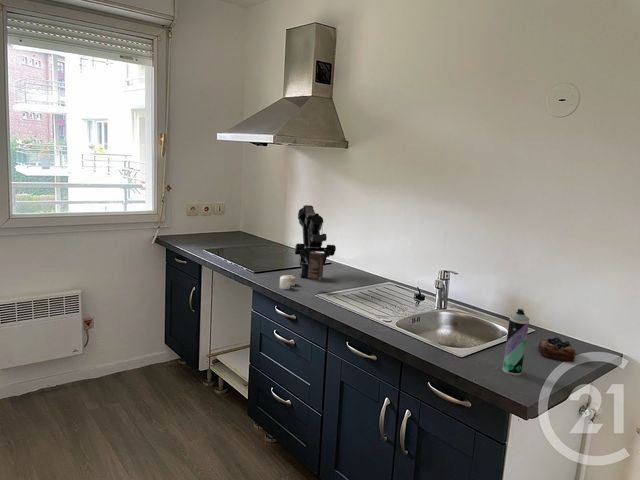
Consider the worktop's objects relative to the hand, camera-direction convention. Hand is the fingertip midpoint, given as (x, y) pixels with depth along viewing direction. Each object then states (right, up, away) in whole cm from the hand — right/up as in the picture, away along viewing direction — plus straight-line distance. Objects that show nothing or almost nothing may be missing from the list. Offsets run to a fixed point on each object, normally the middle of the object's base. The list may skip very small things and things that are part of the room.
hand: (316, 265), depth 221 cm
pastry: (+83, -28, -55) cm, 104 cm away
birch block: (-14, -10, +10) cm, 20 cm away
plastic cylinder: (-15, -11, +4) cm, 19 cm away
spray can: (+61, -29, -73) cm, 99 cm away
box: (-1, -6, +3) cm, 7 cm away
